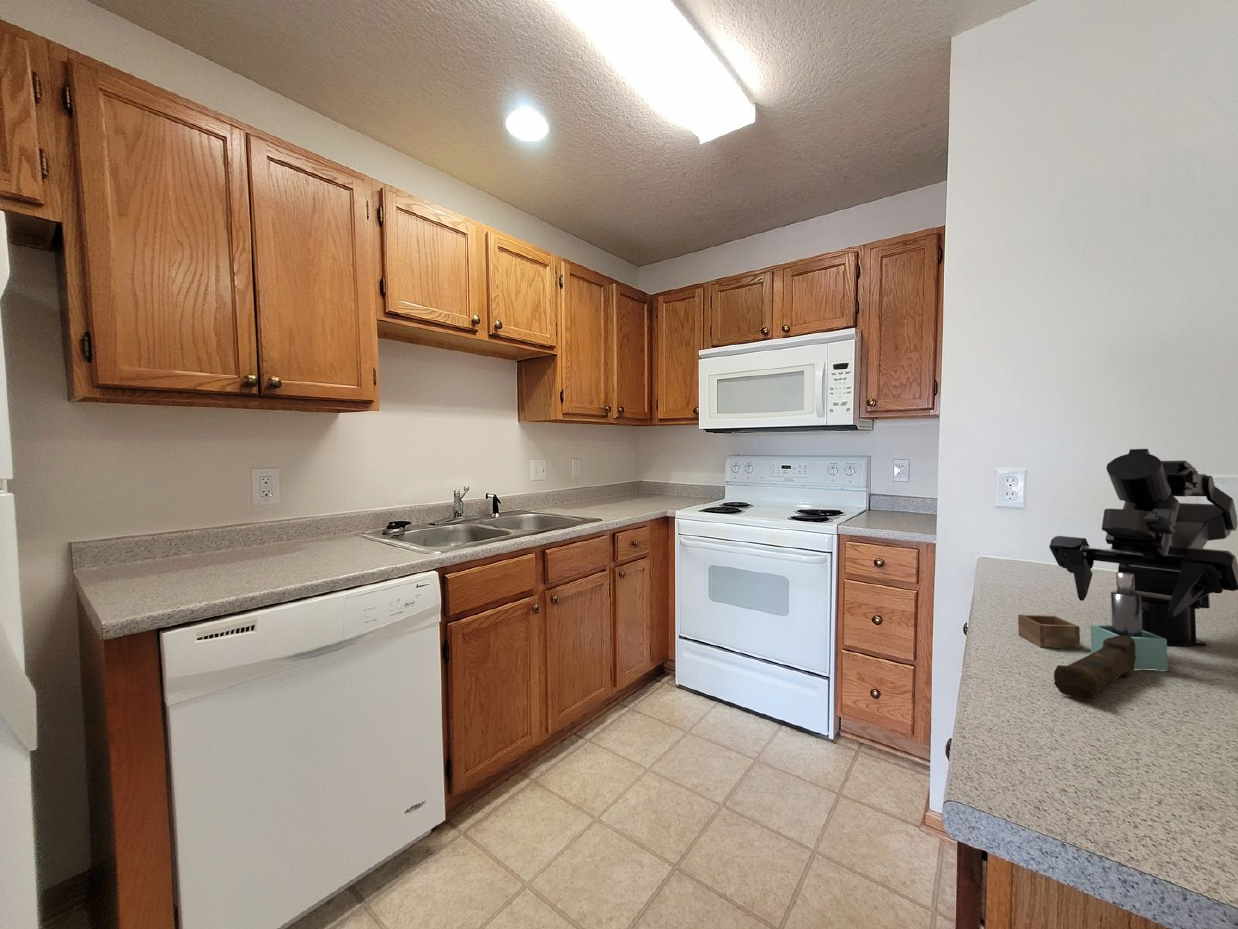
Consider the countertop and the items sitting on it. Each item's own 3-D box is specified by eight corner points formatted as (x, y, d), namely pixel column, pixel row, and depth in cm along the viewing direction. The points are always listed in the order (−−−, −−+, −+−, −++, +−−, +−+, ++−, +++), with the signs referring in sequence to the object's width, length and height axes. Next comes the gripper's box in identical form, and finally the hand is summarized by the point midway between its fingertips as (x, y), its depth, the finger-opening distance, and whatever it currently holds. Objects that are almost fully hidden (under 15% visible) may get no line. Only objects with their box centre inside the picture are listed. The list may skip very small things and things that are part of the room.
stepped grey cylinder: (1120, 657, 71) (1117, 570, 71) (1148, 665, 68) (1145, 574, 68) (1108, 660, 70) (1105, 572, 70) (1135, 668, 67) (1132, 576, 67)
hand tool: (1094, 706, 57) (1093, 668, 57) (1052, 692, 61) (1052, 656, 61) (1160, 673, 65) (1159, 639, 65) (1119, 662, 69) (1119, 630, 69)
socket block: (1055, 636, 79) (1054, 615, 79) (1080, 649, 74) (1079, 626, 74) (1018, 635, 80) (1018, 614, 80) (1040, 647, 75) (1039, 625, 75)
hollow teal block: (1133, 656, 71) (1132, 626, 71) (1167, 671, 66) (1166, 639, 66) (1091, 654, 72) (1090, 624, 72) (1121, 669, 67) (1120, 637, 67)
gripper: (1052, 487, 79) (1024, 561, 74) (1233, 491, 63) (1214, 586, 57) (1072, 530, 83) (1047, 603, 78) (1248, 544, 67) (1231, 638, 61)
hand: (1123, 606), depth 68 cm, fingers open, 9 cm apart
